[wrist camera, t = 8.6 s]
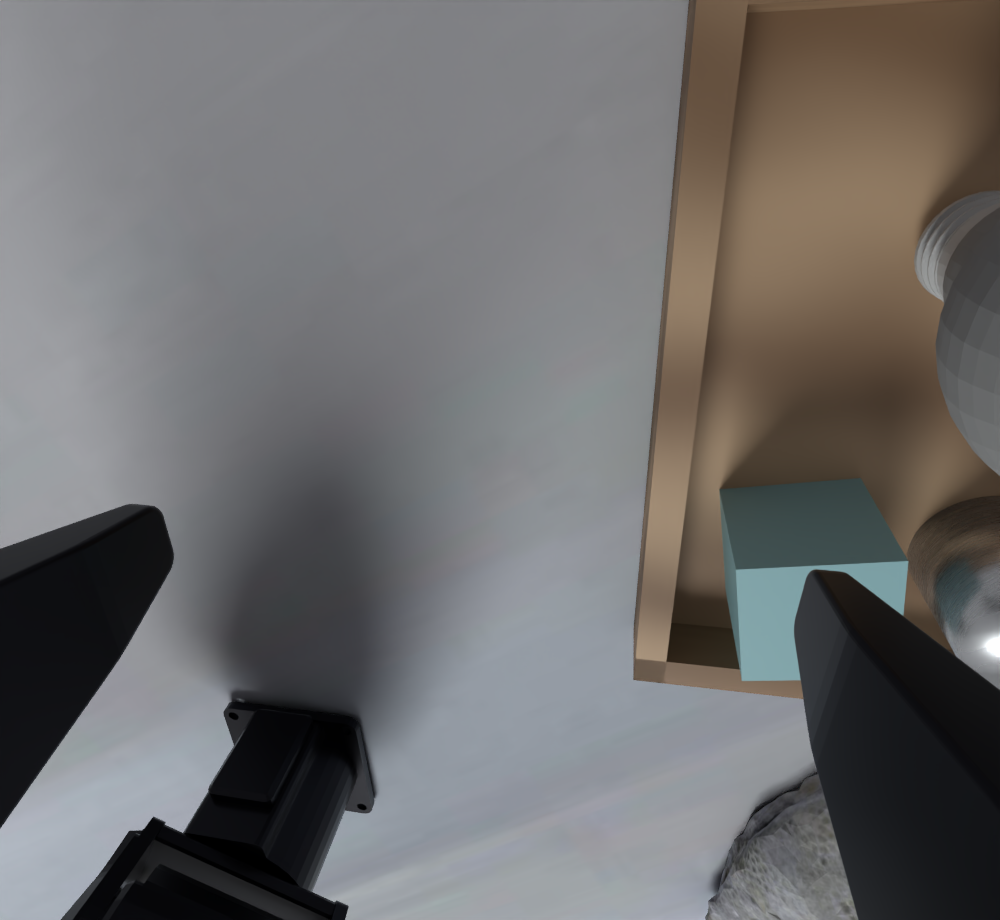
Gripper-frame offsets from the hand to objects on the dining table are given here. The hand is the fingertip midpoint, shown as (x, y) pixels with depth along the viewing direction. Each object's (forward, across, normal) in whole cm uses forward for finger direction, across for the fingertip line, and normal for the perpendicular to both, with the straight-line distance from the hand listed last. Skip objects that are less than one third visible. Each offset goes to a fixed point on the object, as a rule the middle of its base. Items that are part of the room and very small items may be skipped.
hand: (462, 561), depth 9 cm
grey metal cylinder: (+11, -13, +6) cm, 19 cm away
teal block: (+11, -8, +7) cm, 15 cm away
